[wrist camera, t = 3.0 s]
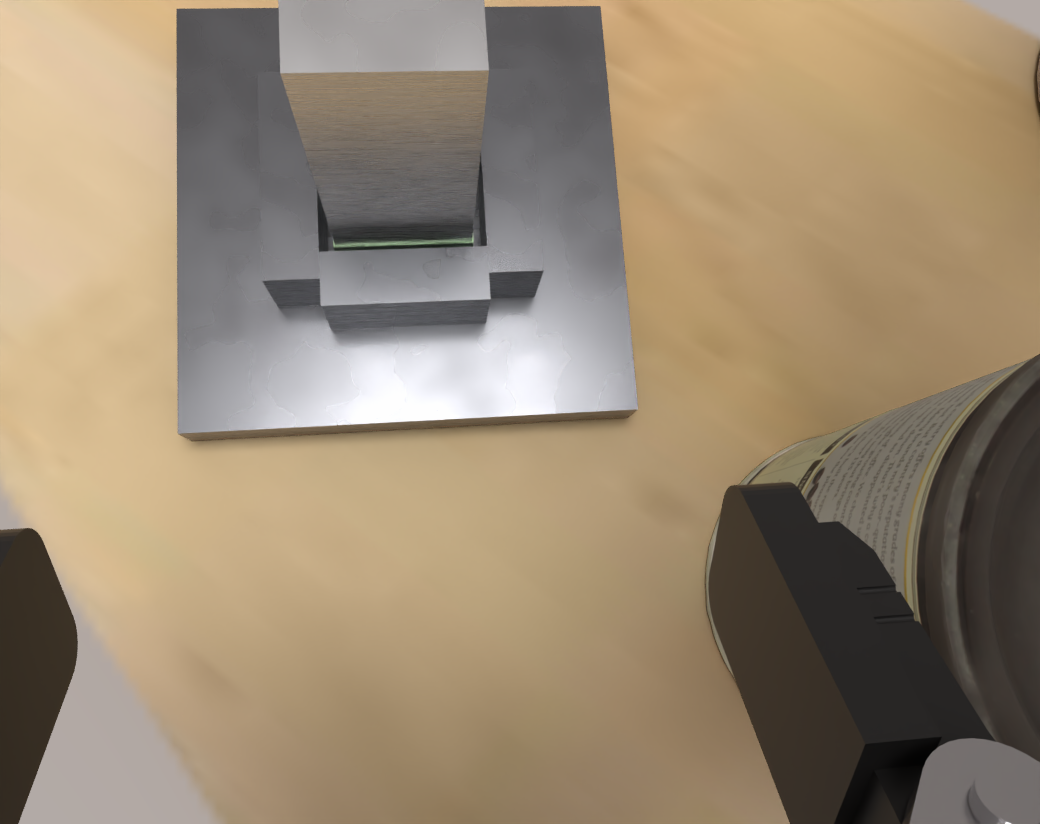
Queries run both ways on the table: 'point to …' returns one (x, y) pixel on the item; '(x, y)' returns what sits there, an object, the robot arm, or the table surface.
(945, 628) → the coffee can
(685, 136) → the table surface
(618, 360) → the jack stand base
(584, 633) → the table surface
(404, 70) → the steel column
